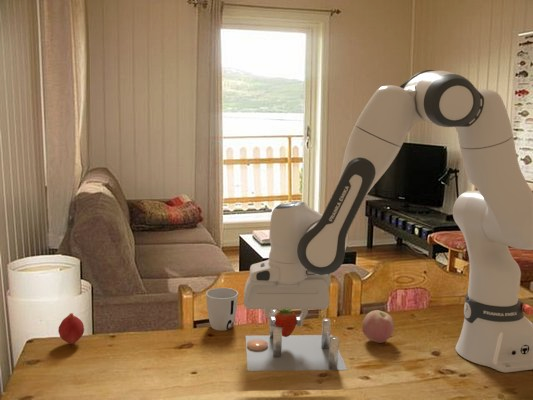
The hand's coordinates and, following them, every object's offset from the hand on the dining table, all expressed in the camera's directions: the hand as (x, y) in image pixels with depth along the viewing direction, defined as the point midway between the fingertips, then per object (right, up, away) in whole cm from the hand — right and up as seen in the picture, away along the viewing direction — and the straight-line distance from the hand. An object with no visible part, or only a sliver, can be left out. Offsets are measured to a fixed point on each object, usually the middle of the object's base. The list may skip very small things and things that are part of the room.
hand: (285, 325), depth 132 cm
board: (+2, -7, -2) cm, 7 cm away
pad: (-7, -5, +1) cm, 8 cm away
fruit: (0, -3, +1) cm, 3 cm away
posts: (+4, -6, -2) cm, 7 cm away
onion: (-52, -5, +2) cm, 52 cm away
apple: (+23, -6, +7) cm, 25 cm away
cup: (-16, -4, +12) cm, 21 cm away
